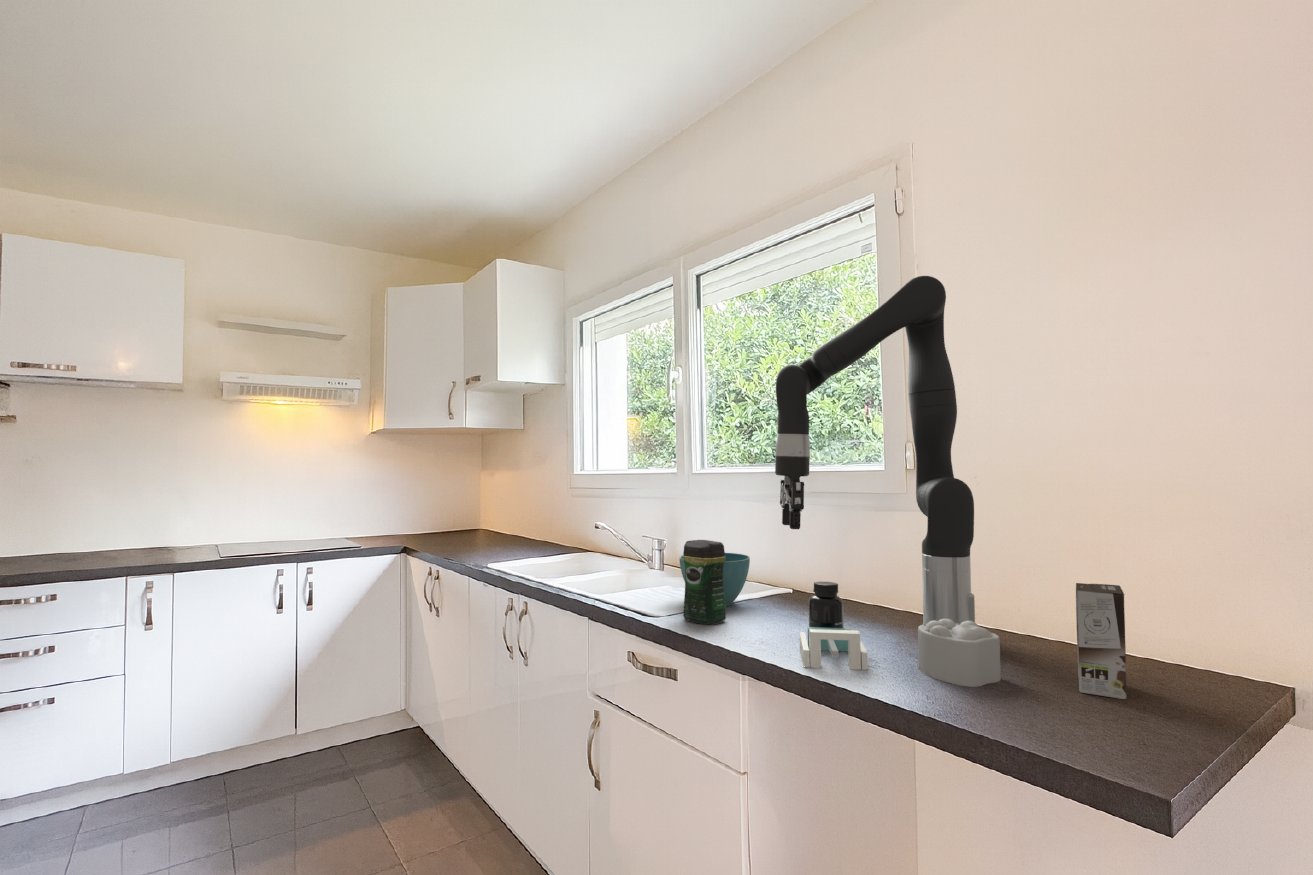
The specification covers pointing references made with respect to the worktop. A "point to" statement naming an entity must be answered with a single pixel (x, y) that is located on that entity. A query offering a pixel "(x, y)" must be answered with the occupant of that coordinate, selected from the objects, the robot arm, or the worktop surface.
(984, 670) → the lumpy-topped squat cylinder
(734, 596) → the teal bowl
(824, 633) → the white stand with panel
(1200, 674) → the worktop surface
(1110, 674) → the coffee box
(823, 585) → the supplement bottle
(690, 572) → the coffee jar
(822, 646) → the pusher
